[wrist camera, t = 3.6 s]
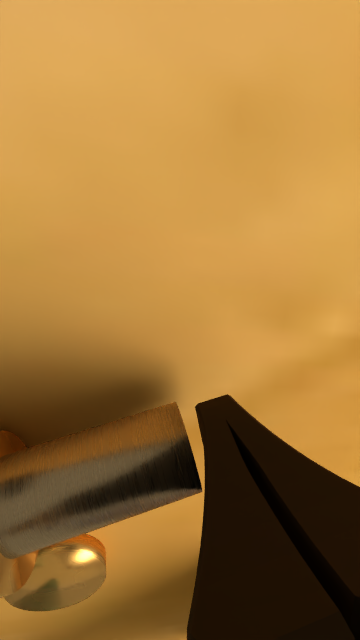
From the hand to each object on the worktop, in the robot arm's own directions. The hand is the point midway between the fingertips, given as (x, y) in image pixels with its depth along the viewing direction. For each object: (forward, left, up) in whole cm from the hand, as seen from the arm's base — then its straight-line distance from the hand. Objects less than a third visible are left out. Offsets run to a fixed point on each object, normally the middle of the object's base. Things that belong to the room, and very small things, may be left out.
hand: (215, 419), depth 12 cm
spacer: (-8, +9, -2) cm, 12 cm away
